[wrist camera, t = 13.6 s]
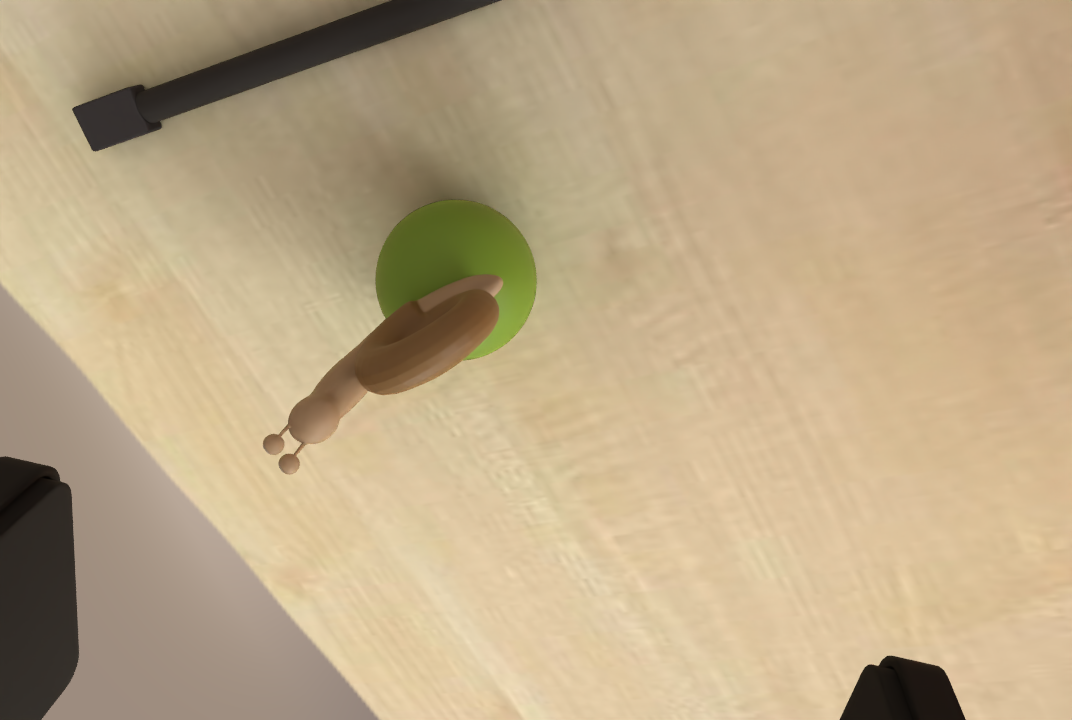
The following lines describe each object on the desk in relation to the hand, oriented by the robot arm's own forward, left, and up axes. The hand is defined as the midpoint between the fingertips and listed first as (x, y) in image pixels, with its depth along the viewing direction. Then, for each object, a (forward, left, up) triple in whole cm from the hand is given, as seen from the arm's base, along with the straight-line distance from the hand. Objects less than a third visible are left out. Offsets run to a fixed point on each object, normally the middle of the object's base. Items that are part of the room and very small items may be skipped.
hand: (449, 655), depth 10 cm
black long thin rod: (-4, -8, -23) cm, 25 cm away
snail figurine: (+3, -4, -23) cm, 24 cm away
